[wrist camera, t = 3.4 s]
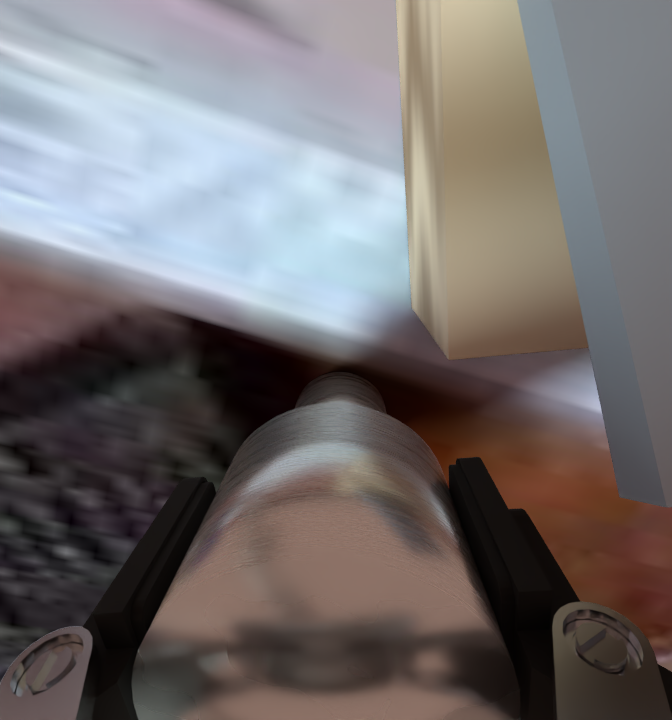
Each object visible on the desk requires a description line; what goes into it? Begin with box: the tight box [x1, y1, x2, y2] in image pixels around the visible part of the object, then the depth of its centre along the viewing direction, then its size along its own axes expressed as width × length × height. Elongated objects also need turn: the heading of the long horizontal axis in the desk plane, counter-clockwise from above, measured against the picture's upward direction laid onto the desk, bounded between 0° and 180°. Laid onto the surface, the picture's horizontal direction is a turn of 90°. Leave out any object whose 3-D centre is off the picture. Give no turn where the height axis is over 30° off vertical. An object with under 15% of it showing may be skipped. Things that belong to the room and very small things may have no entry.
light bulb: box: [131, 372, 520, 720], centre depth 11 cm, size 6×6×10 cm
